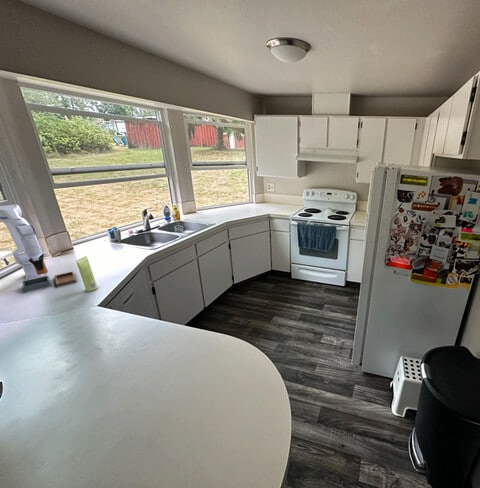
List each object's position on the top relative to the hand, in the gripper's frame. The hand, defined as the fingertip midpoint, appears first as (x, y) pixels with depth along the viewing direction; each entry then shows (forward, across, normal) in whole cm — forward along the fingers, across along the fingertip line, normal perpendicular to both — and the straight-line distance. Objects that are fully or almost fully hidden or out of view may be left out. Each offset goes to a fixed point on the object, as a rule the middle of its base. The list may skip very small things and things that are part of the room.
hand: (40, 268), depth 143 cm
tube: (+11, -24, -17) cm, 32 cm away
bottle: (+3, 0, 0) cm, 3 cm away
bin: (+10, 0, +4) cm, 11 cm away
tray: (+10, -1, -8) cm, 13 cm away
